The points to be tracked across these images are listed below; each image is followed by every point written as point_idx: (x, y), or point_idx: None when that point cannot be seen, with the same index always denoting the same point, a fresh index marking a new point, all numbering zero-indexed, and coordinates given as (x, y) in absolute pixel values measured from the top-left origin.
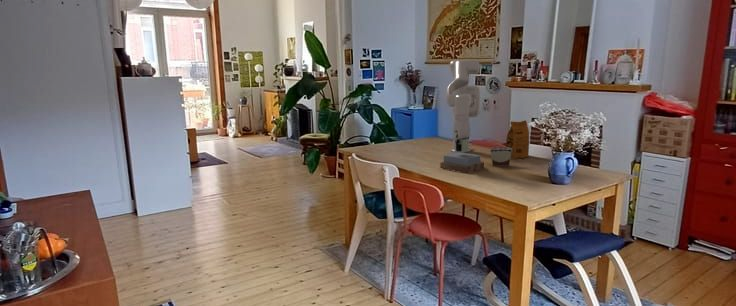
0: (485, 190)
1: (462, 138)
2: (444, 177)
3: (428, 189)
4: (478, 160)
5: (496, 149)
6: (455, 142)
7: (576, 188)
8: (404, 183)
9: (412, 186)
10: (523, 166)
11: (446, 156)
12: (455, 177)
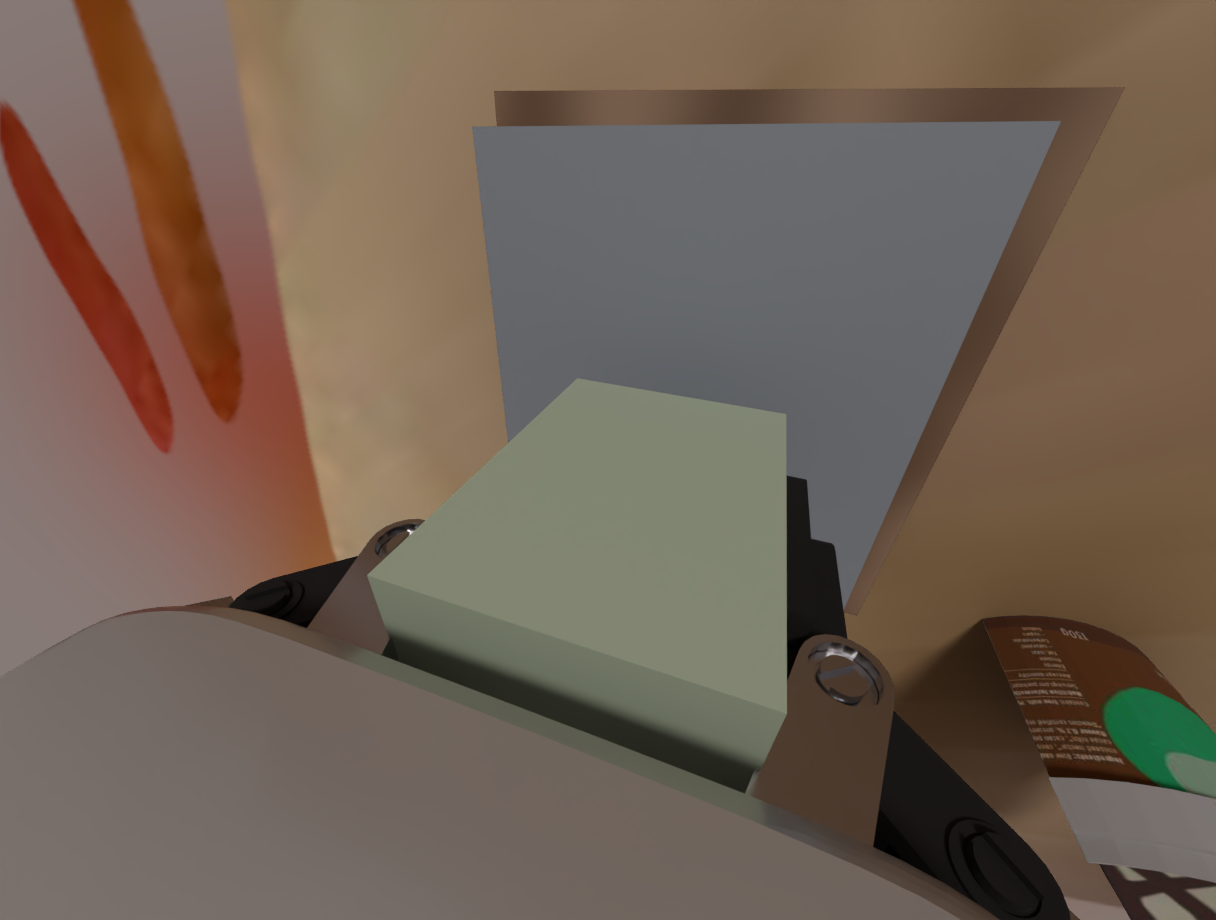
0: None
1: (706, 768)
2: (342, 385)
3: (152, 427)
4: None
5: (1188, 893)
6: (339, 562)
7: None
8: (33, 208)
9: (79, 312)
10: (1060, 817)
11: (489, 211)
12: (405, 457)
